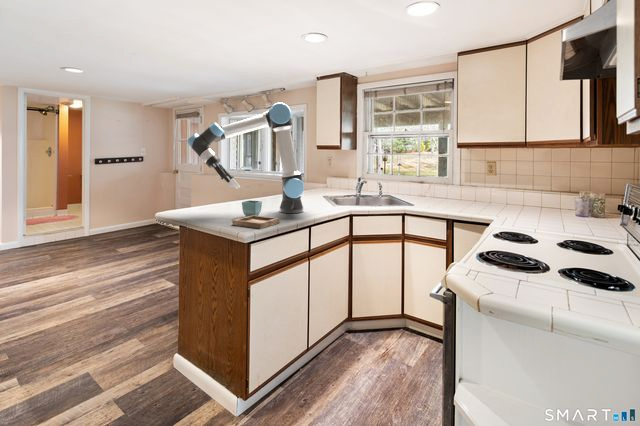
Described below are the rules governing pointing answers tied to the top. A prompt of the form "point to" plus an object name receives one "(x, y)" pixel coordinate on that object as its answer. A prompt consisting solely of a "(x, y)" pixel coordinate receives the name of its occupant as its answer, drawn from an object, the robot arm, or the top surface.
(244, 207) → the flower pot
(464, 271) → the top surface
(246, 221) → the walnut tray
